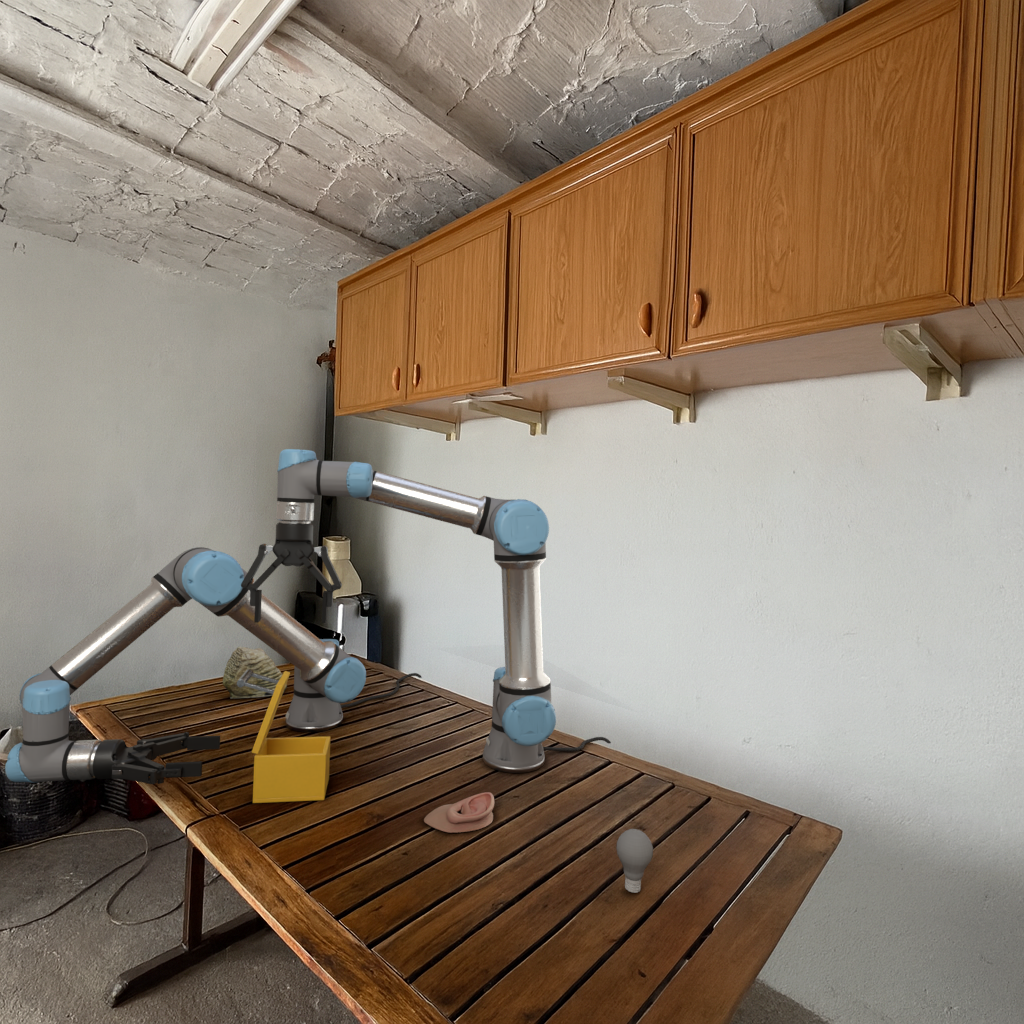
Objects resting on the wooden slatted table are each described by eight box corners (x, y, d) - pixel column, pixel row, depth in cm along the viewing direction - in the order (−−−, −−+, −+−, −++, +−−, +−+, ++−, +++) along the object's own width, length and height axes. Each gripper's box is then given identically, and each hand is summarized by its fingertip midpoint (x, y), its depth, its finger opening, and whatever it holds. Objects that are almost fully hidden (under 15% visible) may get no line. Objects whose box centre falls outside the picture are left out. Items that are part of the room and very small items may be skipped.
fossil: (218, 695, 195) (220, 647, 195) (278, 685, 208) (279, 640, 207) (228, 703, 189) (230, 653, 188) (289, 692, 201) (290, 645, 201)
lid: (290, 672, 140) (250, 660, 139) (282, 686, 130) (239, 673, 129) (267, 735, 140) (226, 724, 138) (257, 754, 130) (213, 742, 128)
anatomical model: (419, 808, 122) (437, 782, 134) (418, 828, 122) (437, 801, 134) (485, 817, 120) (499, 791, 131) (484, 838, 120) (498, 810, 131)
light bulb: (610, 879, 108) (613, 822, 108) (644, 879, 109) (647, 822, 109) (619, 902, 102) (622, 840, 102) (655, 901, 103) (658, 840, 103)
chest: (328, 778, 142) (330, 736, 142) (324, 800, 132) (326, 754, 132) (262, 781, 140) (264, 737, 140) (252, 803, 130) (254, 756, 130)
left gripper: (124, 752, 141) (225, 748, 145) (68, 807, 117) (192, 801, 121) (124, 719, 141) (226, 716, 145) (68, 767, 116) (193, 762, 120)
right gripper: (228, 520, 129) (224, 624, 129) (354, 525, 133) (350, 625, 134) (236, 519, 136) (233, 617, 136) (356, 523, 141) (352, 618, 141)
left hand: (211, 754), depth 133 cm, fingers open, 13 cm apart
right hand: (291, 621), depth 135 cm, fingers open, 13 cm apart
